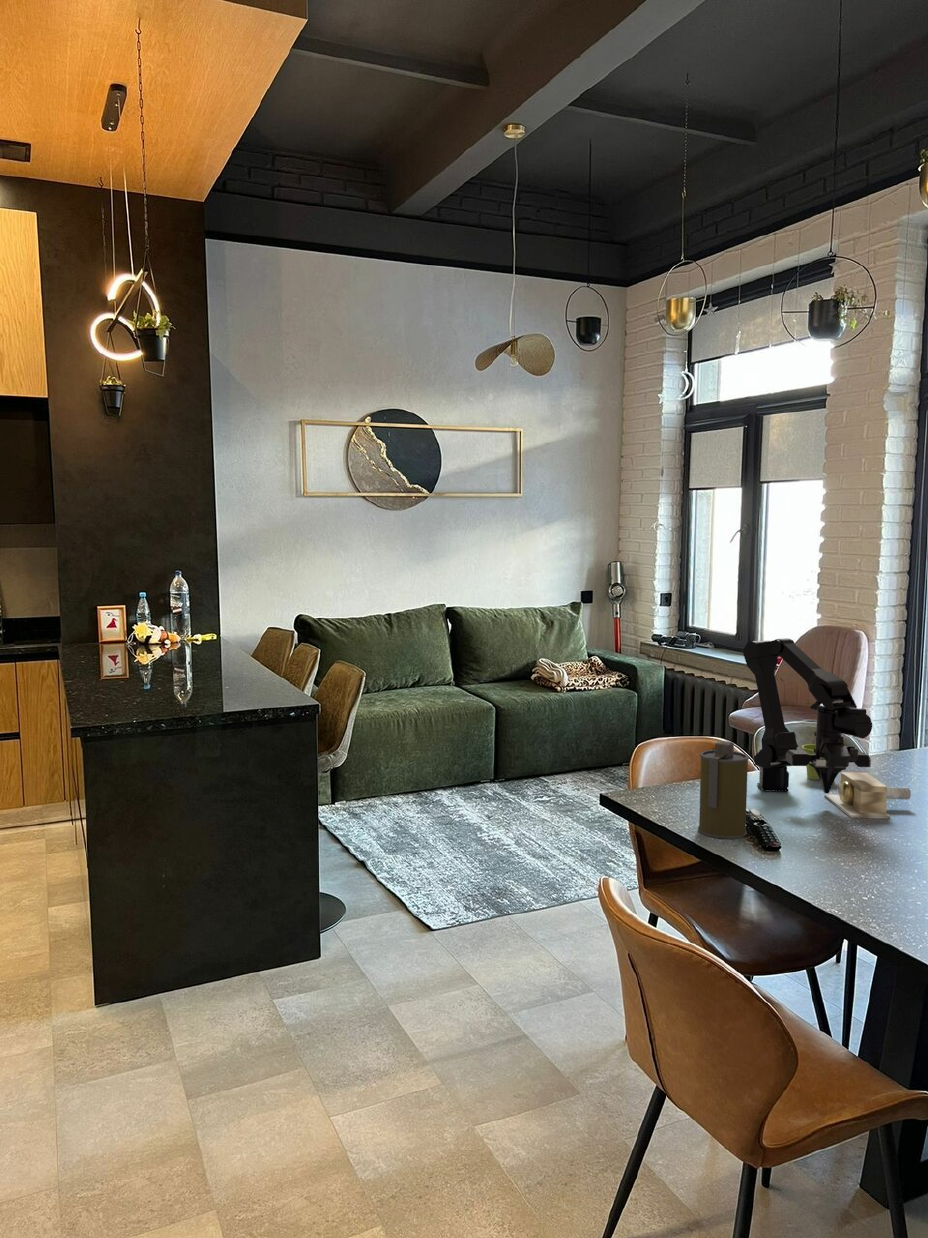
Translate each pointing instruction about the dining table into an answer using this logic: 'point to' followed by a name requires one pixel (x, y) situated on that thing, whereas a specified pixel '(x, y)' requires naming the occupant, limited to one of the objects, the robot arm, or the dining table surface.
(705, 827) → the canister
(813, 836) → the dining table surface
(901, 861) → the dining table surface
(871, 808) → the block
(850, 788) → the door knob
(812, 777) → the plant pot
